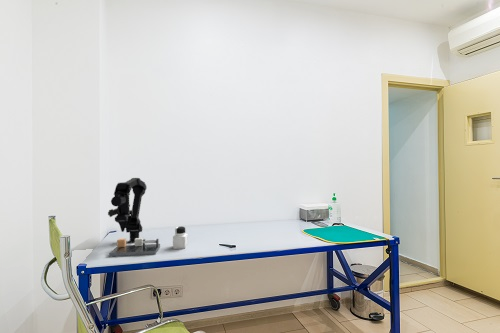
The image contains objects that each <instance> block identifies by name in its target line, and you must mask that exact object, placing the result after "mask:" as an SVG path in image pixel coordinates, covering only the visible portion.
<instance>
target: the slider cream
mask: <svg viewBox="0 0 500 333" xmlns="http://www.w3.org/2000/svg"><path fill="white" fill-rule="evenodd" d="M143 239H144V237H139V238H136V239H135V242H134V245H135V246H142V245H143Z"/></svg>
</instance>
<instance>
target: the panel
mask: <svg viewBox="0 0 500 333" xmlns="http://www.w3.org/2000/svg"><path fill="white" fill-rule="evenodd" d="M143 241H146V239H145V238H143ZM155 241H156V243H143V245H142V246H135V244H132V245H131V244H129V245H128V244H126V246H125V247H117V246H116V247H115V248H114V249H112V250H111V251H110V252H108V254H109V255H108V257H110V258H113V257H114V258H115V257H117V258H118V257H128V256H129V257H131V256H132V257H133V256H134V257H135V256H149V255H151V256H153V255H156V254H157V253H158V252H159V250H160V249H161V243H159V242H160V239H159V238H156V240H155Z"/></svg>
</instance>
